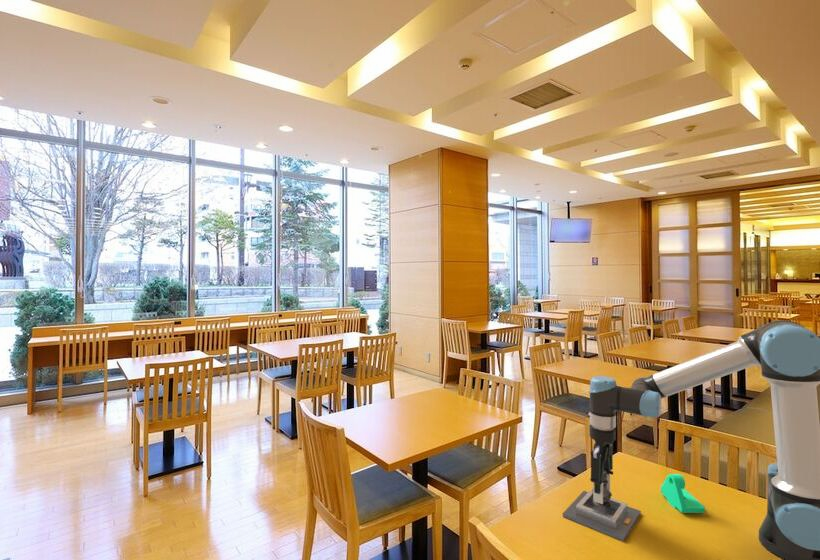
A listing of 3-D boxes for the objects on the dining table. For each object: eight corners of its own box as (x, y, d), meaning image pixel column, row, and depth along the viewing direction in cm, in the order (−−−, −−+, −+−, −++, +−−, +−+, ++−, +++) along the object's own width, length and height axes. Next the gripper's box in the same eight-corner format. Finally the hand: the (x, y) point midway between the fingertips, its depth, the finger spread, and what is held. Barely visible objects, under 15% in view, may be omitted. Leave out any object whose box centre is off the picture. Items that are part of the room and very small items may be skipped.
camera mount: (706, 516, 132) (706, 484, 131) (681, 515, 132) (682, 484, 132) (683, 495, 144) (683, 466, 143) (660, 495, 144) (660, 466, 144)
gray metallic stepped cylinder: (610, 510, 128) (610, 472, 128) (590, 505, 132) (590, 467, 131) (612, 501, 133) (613, 465, 133) (593, 496, 136) (593, 460, 136)
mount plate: (640, 514, 133) (640, 503, 133) (623, 541, 120) (623, 529, 120) (583, 493, 145) (583, 483, 145) (562, 516, 132) (562, 505, 132)
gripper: (600, 415, 141) (599, 482, 142) (579, 431, 127) (578, 505, 128) (624, 420, 136) (623, 490, 137) (604, 438, 122) (604, 515, 123)
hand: (601, 497), depth 132 cm, fingers closed on gray metallic stepped cylinder, 6 cm apart
